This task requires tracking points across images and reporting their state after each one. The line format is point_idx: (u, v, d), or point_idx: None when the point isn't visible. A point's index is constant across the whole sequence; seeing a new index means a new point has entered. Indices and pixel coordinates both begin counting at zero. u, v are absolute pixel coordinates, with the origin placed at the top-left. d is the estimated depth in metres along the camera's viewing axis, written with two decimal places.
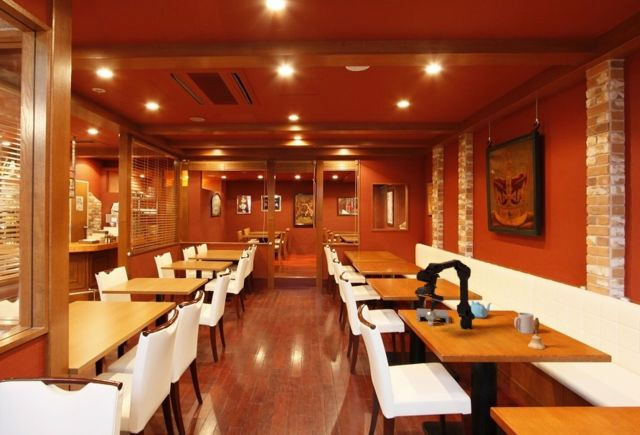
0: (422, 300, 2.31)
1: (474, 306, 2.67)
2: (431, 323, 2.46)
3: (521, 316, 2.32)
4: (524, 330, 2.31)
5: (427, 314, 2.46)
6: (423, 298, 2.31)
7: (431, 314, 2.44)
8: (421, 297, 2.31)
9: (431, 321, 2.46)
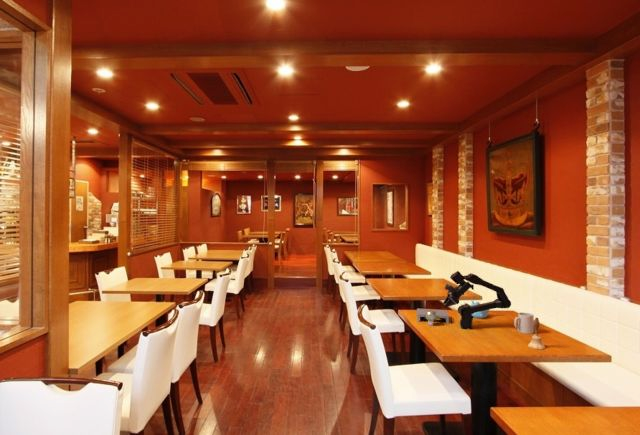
0: (448, 299, 2.49)
1: None
2: (431, 323, 2.46)
3: (521, 316, 2.32)
4: (524, 330, 2.31)
5: (427, 314, 2.46)
6: None
7: (431, 314, 2.44)
8: None
9: (431, 321, 2.46)
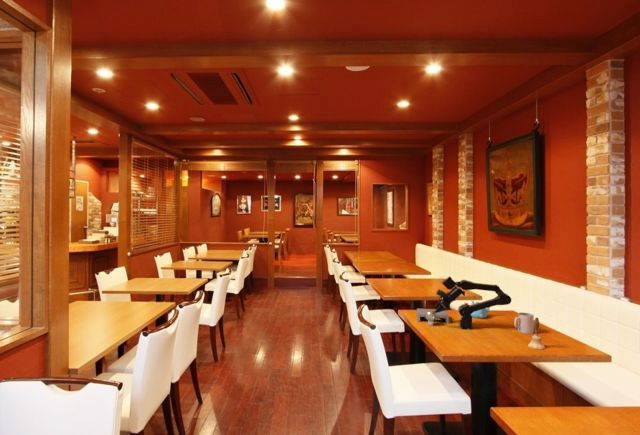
0: None
1: None
2: (431, 323, 2.46)
3: (521, 316, 2.32)
4: (524, 330, 2.31)
5: (427, 314, 2.46)
6: None
7: (431, 314, 2.44)
8: (441, 302, 2.50)
9: (431, 321, 2.46)
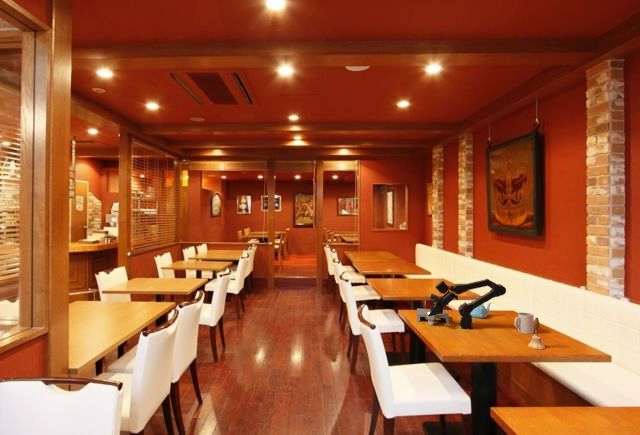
0: None
1: None
2: (431, 323, 2.46)
3: (521, 316, 2.32)
4: (524, 330, 2.31)
5: (427, 314, 2.46)
6: None
7: None
8: None
9: (431, 321, 2.46)
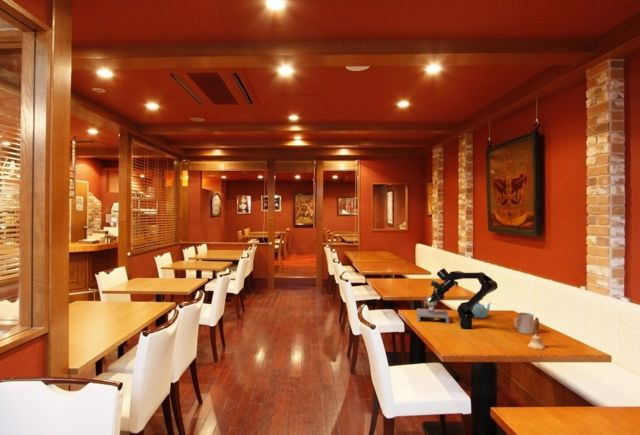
0: None
1: (474, 306, 2.67)
2: (432, 309, 2.54)
3: (521, 316, 2.32)
4: (524, 330, 2.31)
5: (428, 300, 2.54)
6: None
7: None
8: None
9: (432, 307, 2.54)
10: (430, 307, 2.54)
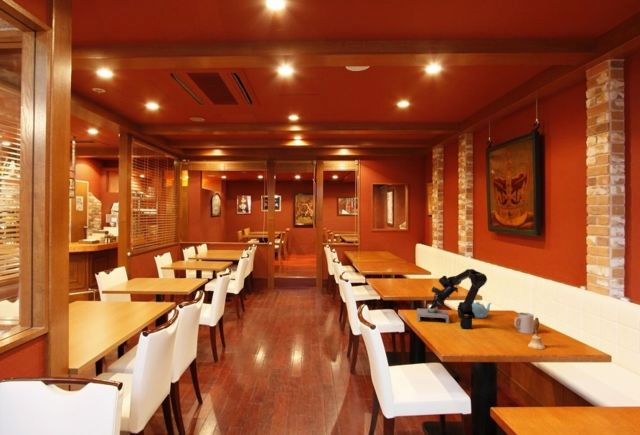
0: (435, 301, 2.65)
1: (474, 306, 2.67)
2: None
3: (521, 316, 2.32)
4: (524, 330, 2.31)
5: (429, 307, 2.59)
6: None
7: None
8: None
9: None
10: None
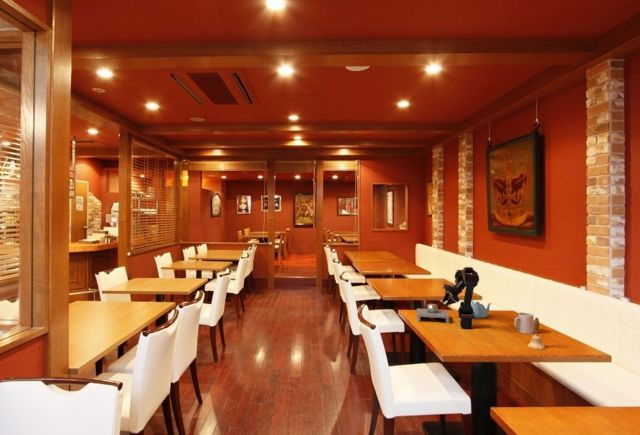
0: (447, 297, 2.62)
1: (474, 306, 2.67)
2: None
3: (521, 316, 2.32)
4: (524, 330, 2.31)
5: (429, 307, 2.59)
6: (449, 297, 2.62)
7: (433, 307, 2.57)
8: (447, 295, 2.62)
9: None
10: None
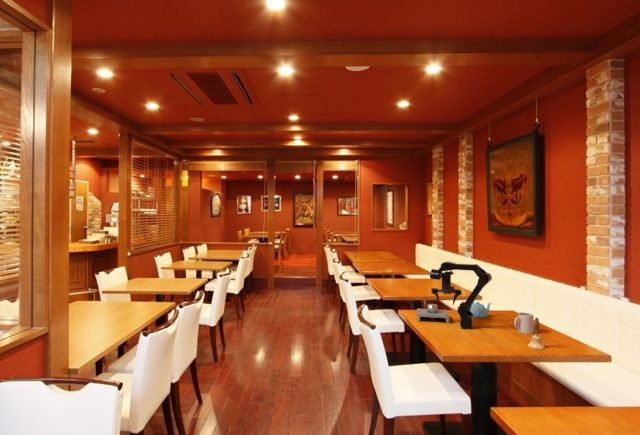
0: None
1: (474, 306, 2.67)
2: None
3: (521, 316, 2.32)
4: (524, 330, 2.31)
5: (429, 307, 2.59)
6: None
7: (433, 307, 2.57)
8: None
9: None
10: None
